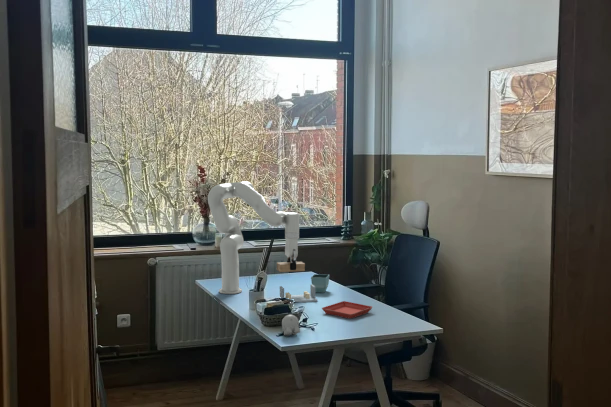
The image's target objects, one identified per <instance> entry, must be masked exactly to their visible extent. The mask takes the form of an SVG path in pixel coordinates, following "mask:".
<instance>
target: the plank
mask: <svg viewBox="0 0 611 407" xmlns="http://www.w3.org/2000/svg"><path fill="white" fill-rule="evenodd" d="M290 263H291V262H287V261H285V262H276V271H278V272H279V273H290V272H291V273H292V272H305V271H306V270H305V267H306V263H305V262H303V261H296V270H290Z"/></svg>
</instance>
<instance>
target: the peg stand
mask: <svg viewBox="0 0 611 407" xmlns="http://www.w3.org/2000/svg"><path fill="white" fill-rule="evenodd" d="M309 285H310V292H309V291H307V290H305V291H303V294H291V293H290V292H285V288H284V287H283V286H282V285H280V286H279V296H280V297H281V298H284V297H285V298H289V299H294V301H295V302H301V303H312V302H313V303H315V302H318V298H316V292H315V286H314V285H312V283H311V284H309Z"/></svg>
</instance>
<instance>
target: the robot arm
mask: <svg viewBox="0 0 611 407" xmlns="http://www.w3.org/2000/svg"><path fill="white" fill-rule="evenodd" d="M233 198H240V200H242V201H243V202H245V204H246V205H248V206H250V207H251V208H252V209H253V210H254V212H256V214H257V215H258V216H259V217H260V219H262V220H263V221H265V222H266V223H267V224H268V225H269V226H272V227H273V228H277V227H279V226H284V239H285V246H284V254H285V256H286V262H291V263H290V270H296V262H297V257H298V255H299V254H298V253H299V251H298V250H299V248H298V246H299V245H298V244H299V243H298V241H299V240H298V239H300V214H299V212H285V211H282V210H281V211H275V210H274V209H272V208H271V207H270V206H269V205H268V204H267V203H266V200H265V197H264V196H263V195H262V194H261V193H259V192H258V191H257V190H256V189H255V188H254V185H253V184H252V183H251V182H250V181H246V180H245V181H238V182H225V183H219V184H216V185H214V186H213V187H212V188H211V189H210V191H209V192H208V195H207V203H208V206H209V209H210V211H211V212H210V213H211V216H212V218H213V222H214V225H215V228H216V230H217V231H218V232H219V233H220V234H224V235H225V236H224V237H223V238H222V239H221V240H220V243H219V250H220V257H221V259H220V260H221V262H220V263H221V288H220V289H218V292H219V293H220V294H224V295H225V294H226V295H234V294H240V293H242V291H243V289H242V288H240V262H239V261H240V259H239V258H240V257H239V252H238V251H239V249H241V248H242V247H243V245H244V235H243V233H242V230H241V227H240V224H239V221H238V219H237V218H236V217H235V216H234V215H232V214H229V212H228V209H227V207H226V206H227V205H226V204H225V203H224V200H227V199H233Z"/></svg>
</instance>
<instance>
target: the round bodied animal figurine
mask: <svg viewBox="0 0 611 407" xmlns="http://www.w3.org/2000/svg"><path fill="white" fill-rule="evenodd" d="M299 323H300V322H299V318H298V317H297V316H296V315H294V314H287V315H285V316H284V317H283V318H282V320H281V327H282V328H281V329H282V331H283V335H284V336H288V337H289V336H290V335H292V336H294V335H295V336H296V335H297V334H299V333H300V332H301V330H300V327H299V326H300V325H299Z"/></svg>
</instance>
